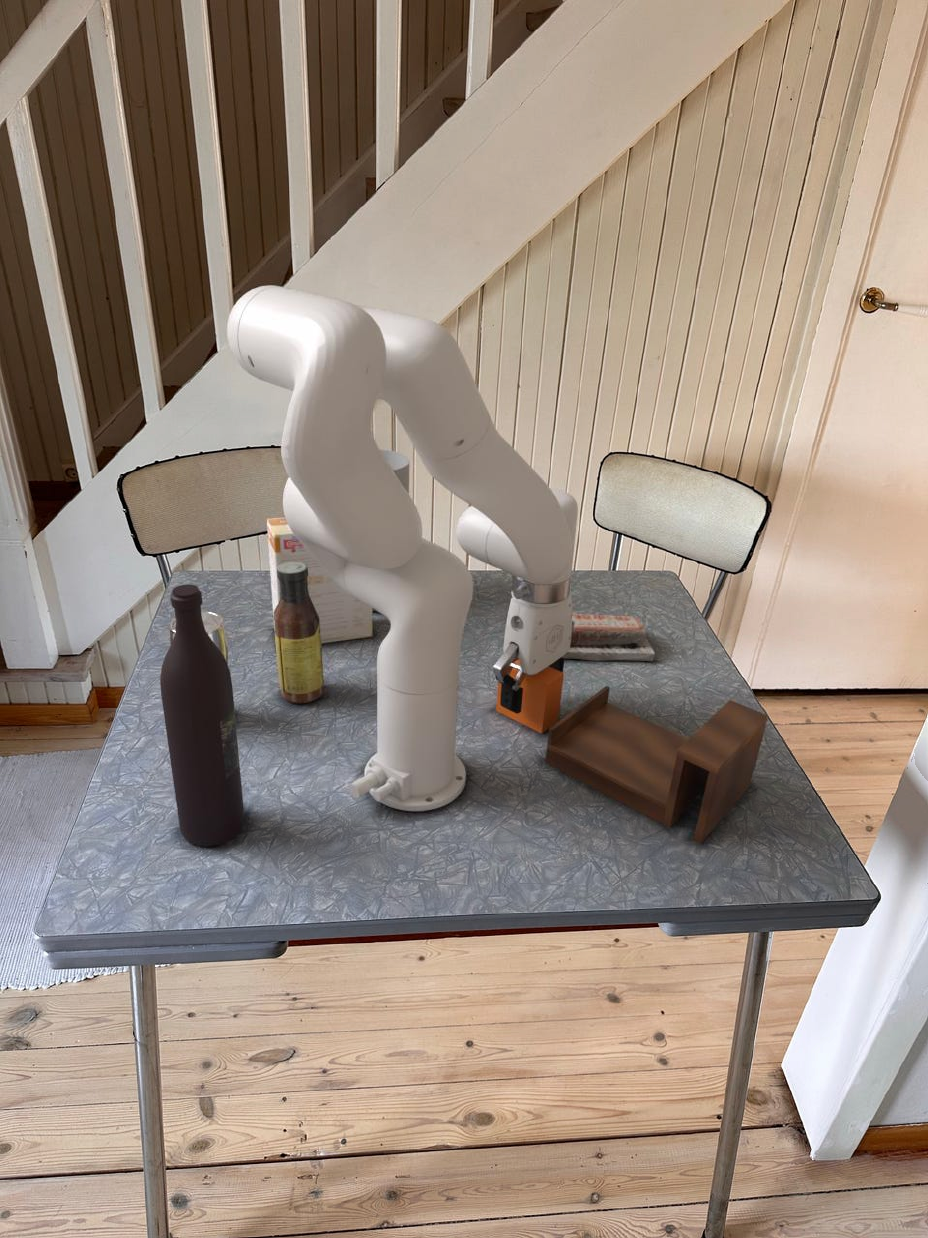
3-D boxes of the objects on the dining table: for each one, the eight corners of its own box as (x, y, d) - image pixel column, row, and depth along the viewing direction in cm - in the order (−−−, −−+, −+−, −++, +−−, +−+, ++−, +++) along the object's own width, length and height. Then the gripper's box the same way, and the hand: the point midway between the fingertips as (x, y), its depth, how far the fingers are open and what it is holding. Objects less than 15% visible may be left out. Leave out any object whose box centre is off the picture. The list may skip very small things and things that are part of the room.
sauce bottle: (332, 694, 121) (329, 568, 111) (297, 711, 117) (290, 582, 107) (304, 676, 125) (298, 553, 115) (269, 692, 120) (260, 566, 111)
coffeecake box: (362, 617, 142) (361, 508, 133) (373, 637, 136) (373, 525, 127) (272, 629, 137) (265, 516, 128) (280, 650, 131) (273, 534, 122)
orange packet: (541, 734, 115) (547, 684, 111) (495, 710, 119) (499, 662, 115) (558, 721, 118) (564, 673, 114) (512, 699, 122) (516, 652, 118)
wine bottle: (240, 847, 93) (217, 606, 79) (174, 849, 92) (139, 606, 78) (248, 805, 99) (227, 574, 85) (186, 807, 98) (155, 574, 84)
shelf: (700, 844, 97) (719, 768, 92) (544, 762, 109) (553, 691, 104) (749, 787, 107) (768, 715, 102) (601, 718, 119) (611, 651, 114)
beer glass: (217, 699, 118) (207, 604, 111) (244, 721, 114) (235, 624, 107) (171, 718, 114) (157, 620, 107) (197, 741, 109) (185, 641, 102)
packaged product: (544, 633, 130) (537, 604, 139) (541, 660, 132) (535, 629, 141) (659, 636, 131) (645, 607, 140) (654, 663, 133) (640, 632, 142)
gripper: (525, 617, 101) (516, 732, 109) (601, 572, 113) (587, 679, 121) (476, 597, 105) (471, 710, 113) (554, 556, 117) (545, 660, 125)
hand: (531, 694), depth 117 cm, fingers open, 9 cm apart
